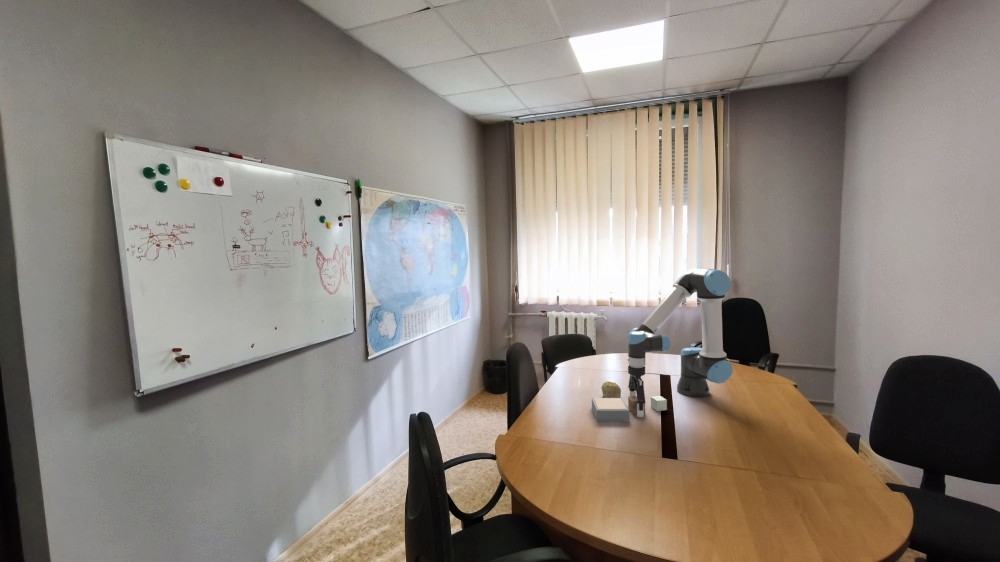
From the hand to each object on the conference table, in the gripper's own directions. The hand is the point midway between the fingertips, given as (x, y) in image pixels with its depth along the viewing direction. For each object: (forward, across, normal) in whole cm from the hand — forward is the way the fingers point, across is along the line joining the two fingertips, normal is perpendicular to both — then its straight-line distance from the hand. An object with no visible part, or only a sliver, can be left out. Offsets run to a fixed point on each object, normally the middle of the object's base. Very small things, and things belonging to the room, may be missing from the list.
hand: (636, 410), depth 180 cm
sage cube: (0, -3, +11) cm, 12 cm away
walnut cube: (0, 0, 0) cm, 0 cm away
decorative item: (+1, -17, -8) cm, 19 cm away
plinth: (0, +4, -13) cm, 14 cm away
